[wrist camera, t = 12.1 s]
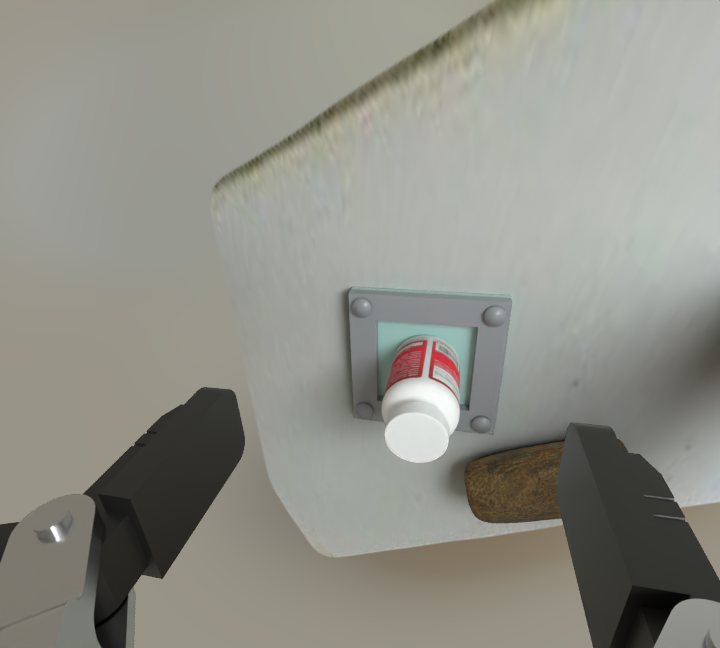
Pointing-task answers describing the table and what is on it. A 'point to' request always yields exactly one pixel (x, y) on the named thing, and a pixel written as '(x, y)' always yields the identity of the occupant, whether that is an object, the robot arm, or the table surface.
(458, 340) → the base plate
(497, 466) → the brown textured cylinder
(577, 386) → the table surface
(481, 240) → the table surface
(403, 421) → the pill bottle
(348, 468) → the table surface
